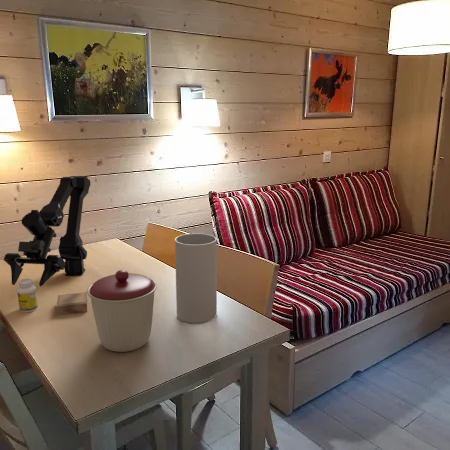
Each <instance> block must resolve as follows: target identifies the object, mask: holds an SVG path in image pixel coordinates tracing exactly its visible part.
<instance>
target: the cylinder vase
mask: <svg viewBox="0 0 450 450" xmlns="http://www.w3.org/2000/svg"><path fill="white" fill-rule="evenodd" d="M217 241H218V239H217V236H214V235H212V234H207V233H196V232H195V233H187V234H186V233H184V234H181V235H178V236H177V237H175V238H174V254H175V255H174V257H175V261H174V262H175V292H176V293H175V295H176V296H175V298H176V299H175V300H176V302H175V303H176V315H177V316H176V317H177V318H178V319H179V320H180V321H182V322H184V323H188V324H203V323H208V322H211V321H212V320H213V319H215V318H216V316H217V309H218V307H217V305H218V304H217V303H218V302H217V301H218V300H217V297H218V296H217V295H218V292H217V291H218V290H217V289H218V286H217V285H218V284H217V283H218V282H217V279H218V278H217V277H218V275H217V274H218V273H217V271H218V270H217V267H218V265H217V264H218V263H217V262H218V257H217V253H218V252H217V250H218V248H217V244H218V243H217Z"/></svg>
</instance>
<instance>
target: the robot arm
mask: <svg viewBox="0 0 450 450" xmlns="http://www.w3.org/2000/svg"><path fill="white" fill-rule="evenodd" d="M90 187H91V180H90V179H89V178H88V177H87V176H86V175H85V176H84V175H70V176H62V177H60V180H59V185H58V186H57V188H56V191H55V192H54V194H53V196H52V198H51V199H50V202H49V203H48V204H47V203H46V204H45V205H44V206H43V207H42V208H41V209H40V211H39V210H38V209H31V211H30V212H28V213H26V214H25V215H24V216H23V217H22V218H21V225H23V227H24V229H26V230H27V231H28V232H29V233H30V235H32V236H33V239H32V240H29V241H18V242H19V243H18V248H17V249H18V250H17V252H18V253H15V252H13V253H12V252H8V253H5V254H4V257H3V261H4V262H5V263H6V264H7V265H9V266H10V270H11V271H10V273H11V285H13V286H16V283H18V281H19V278H20V276H21V274H22V271H23V270H24V268H23V266H25V264H27V265H28V264H29V265H43V268H44V269H43V272H42V274H41V277H40V280H39V282H38V283H39V284H38V286H39V287H40V288H41V287H42V286H44V284H46V282H48V281H49V280H50V279H51V278H52V277H53V276H54V275H55V274H56V273H59V272H60V271H62V270H63V271H64V273H65V274H64V276H67V277H69V276H74V277H75V276H83V275H84V273H85V272H86V268H85V266H84V265H85V263H84V260H87V256H88V251H87V250H86V249H85V247H84V246H83V245H84V244H83V243H84V242H83V240H82V238H81V235H80V230H81V223H82V222H81V221H82V213H83V212H82V211H83V205H84V199H85V198H86V197H87V195H88V194H89V192H90ZM68 199H69V206H68V216H67V223H66V231H65V232H66V233H65V234H64V235H63V236H60V238H59V244H58V252H59V253H58V254H48V253H51V251H52V249H51V244H52V241H53V238H56V237H57V233H56V231H55V229H53V228H52V227H54V228H55V227H56V228H57V227H60V226H61V224H62V223H63V221H64V220H63V219H64V217H65V215H64V212H63V211H64V208H65V206H66V204H67V202H68ZM20 252H22V254H23V255H24V257H23V256H21V254H19V253H20ZM25 256H26V257H25Z"/></svg>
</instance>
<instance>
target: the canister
mask: <svg viewBox="0 0 450 450" xmlns="http://www.w3.org/2000/svg"><path fill="white" fill-rule="evenodd" d="M157 288H158V284H157V282H156V281H155V280H154V279H153V278H151V277H148V276H146V275H144V274H141V273H134V272H133V273H131V272H130V273H129V272H128V271H127V270H125V269H119V270H117V271H116V272H115V273H114V274H111V275H106V276H104V277H101V278H100V279H97V280H96V281H94V282H93V283H91V284H89V286H88V287H87V291H86V292H87V296H88V297H89V298H90V301H91V305H92V306H91V307H92V312H93V316H94V321H95V326H96V330H97V334H98V339H99V340H100V344H101V345H102V346H103V347H104V348H105V349H107V350H109V351H110V352H111V351H112V352H117V353H118V352H119V353H126V352H127V353H128V352H132V351H136V350H138V349H140V348H142V347H143V346H144V345H146V344H147V343H148V341H149V339H150V336H151V333H152V325H153V315H154V304H155V303H154V302H155V291H157Z"/></svg>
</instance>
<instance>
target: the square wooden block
mask: <svg viewBox="0 0 450 450" xmlns="http://www.w3.org/2000/svg"><path fill="white" fill-rule="evenodd" d="M55 305H56V306H55V308H56V316H63V315H71V314H72V313H73V314H82V313H88V293H87V291H86V292H85V291H84V292H75V293H67V294H59V295H57V299H56V304H55Z"/></svg>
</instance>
